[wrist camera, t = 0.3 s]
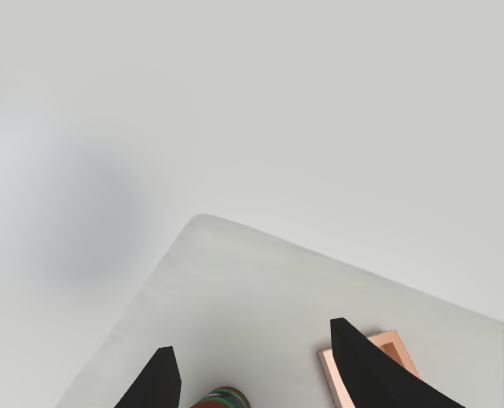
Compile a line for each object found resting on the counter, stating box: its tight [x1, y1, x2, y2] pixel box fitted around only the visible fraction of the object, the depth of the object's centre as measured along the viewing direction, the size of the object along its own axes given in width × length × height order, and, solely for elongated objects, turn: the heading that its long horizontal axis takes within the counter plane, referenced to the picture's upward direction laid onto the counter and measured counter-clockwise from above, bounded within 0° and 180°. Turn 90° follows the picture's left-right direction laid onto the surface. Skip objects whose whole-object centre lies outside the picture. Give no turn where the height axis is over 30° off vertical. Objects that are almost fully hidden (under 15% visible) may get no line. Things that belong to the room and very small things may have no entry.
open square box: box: [318, 330, 421, 408], centre depth 32 cm, size 10×10×4 cm
